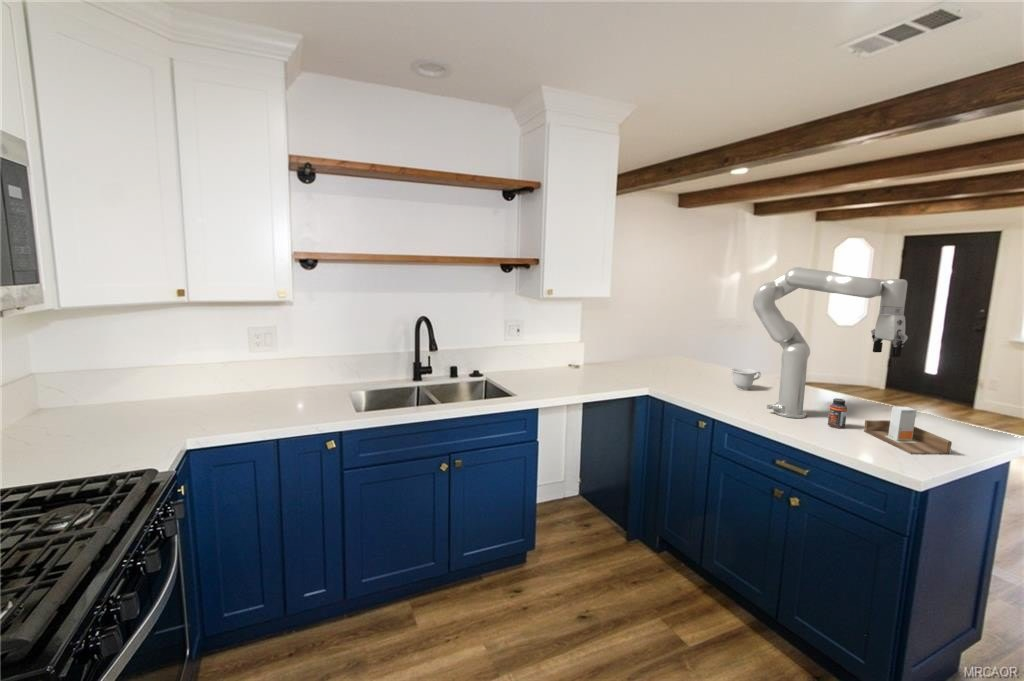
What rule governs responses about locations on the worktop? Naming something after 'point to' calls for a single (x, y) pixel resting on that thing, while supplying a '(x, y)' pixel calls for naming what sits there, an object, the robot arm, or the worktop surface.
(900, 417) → the skincare box
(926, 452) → the wooden tray
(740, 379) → the teacup
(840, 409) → the supplement bottle
